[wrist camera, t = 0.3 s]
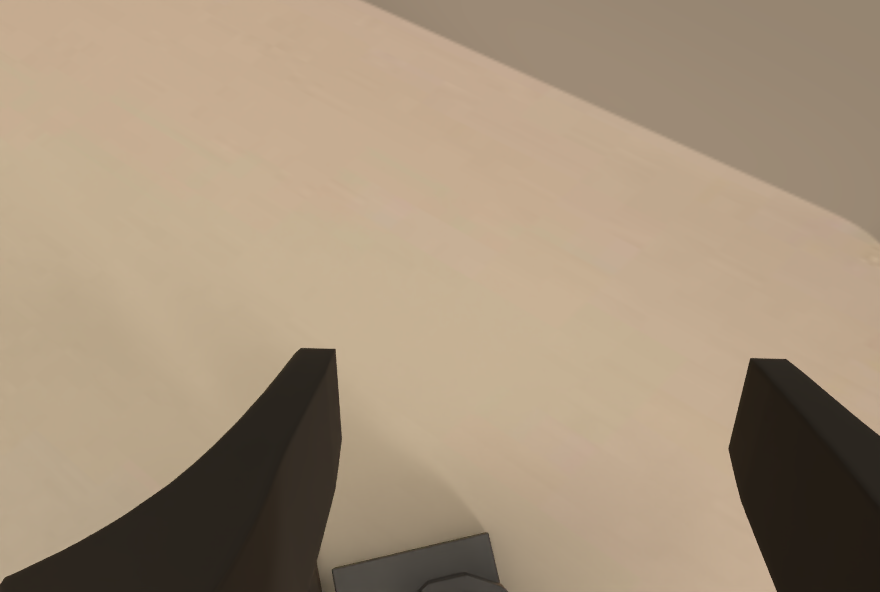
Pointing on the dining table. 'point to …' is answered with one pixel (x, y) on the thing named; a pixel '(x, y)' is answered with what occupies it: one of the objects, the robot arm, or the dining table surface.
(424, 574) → the button base
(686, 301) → the dining table surface
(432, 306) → the dining table surface
